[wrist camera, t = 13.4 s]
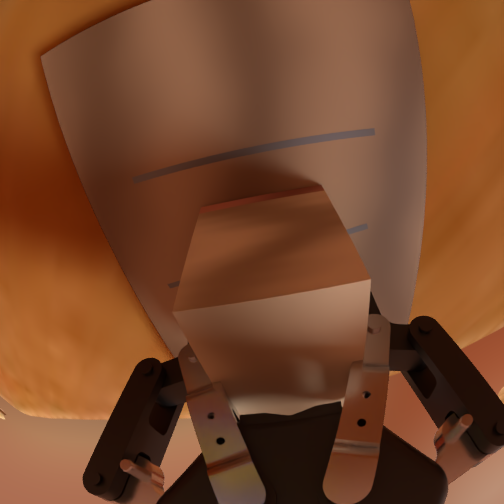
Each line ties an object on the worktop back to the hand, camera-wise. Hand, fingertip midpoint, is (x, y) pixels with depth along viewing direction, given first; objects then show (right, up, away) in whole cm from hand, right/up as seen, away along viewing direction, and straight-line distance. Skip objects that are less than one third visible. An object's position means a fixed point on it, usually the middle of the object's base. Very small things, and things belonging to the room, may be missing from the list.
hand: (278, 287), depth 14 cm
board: (0, +3, 0) cm, 3 cm away
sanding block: (0, 0, 0) cm, 0 cm away
